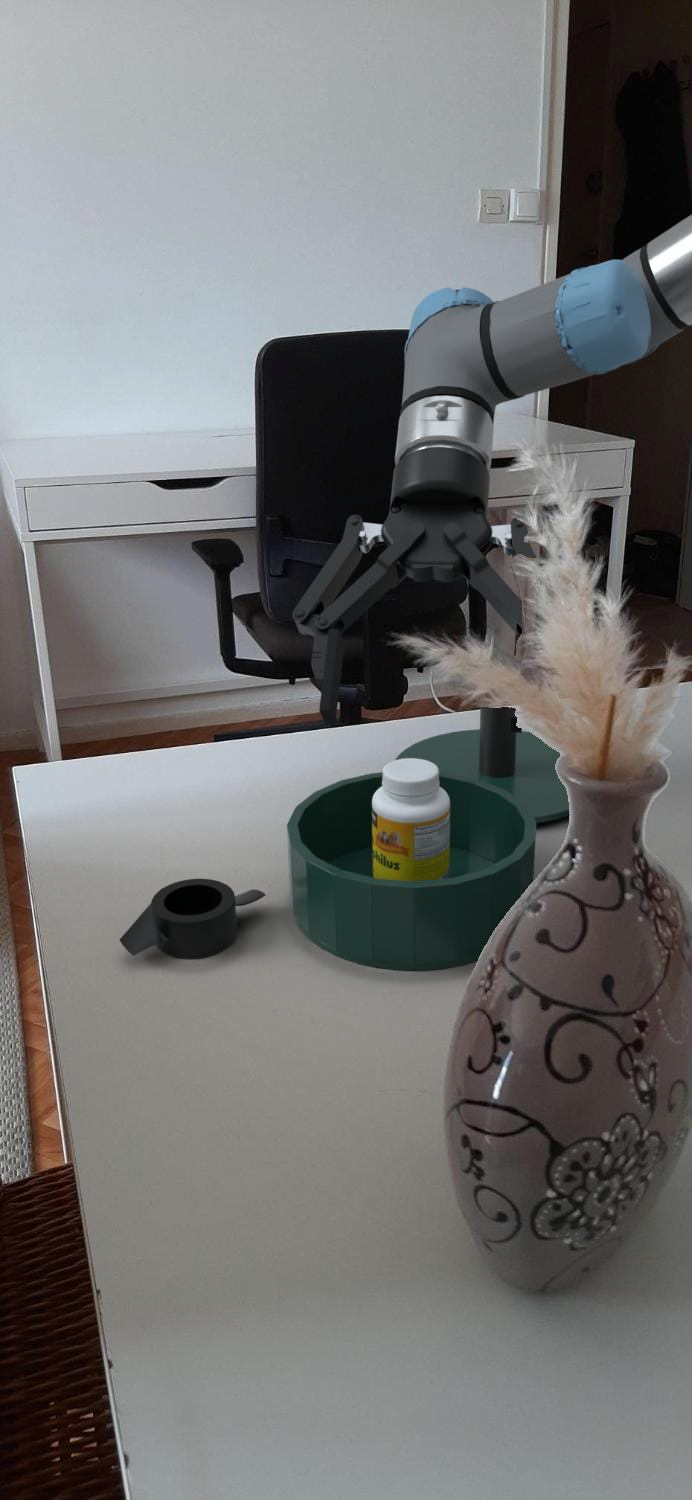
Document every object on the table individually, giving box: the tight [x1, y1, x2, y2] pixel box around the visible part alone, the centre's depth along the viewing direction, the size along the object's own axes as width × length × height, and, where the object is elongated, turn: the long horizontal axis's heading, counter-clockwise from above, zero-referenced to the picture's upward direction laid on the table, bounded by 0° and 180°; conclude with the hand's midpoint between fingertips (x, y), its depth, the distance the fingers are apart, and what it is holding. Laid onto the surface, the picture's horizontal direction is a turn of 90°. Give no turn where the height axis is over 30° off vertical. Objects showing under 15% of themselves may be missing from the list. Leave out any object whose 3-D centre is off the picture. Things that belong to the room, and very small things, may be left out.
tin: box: [286, 771, 537, 971], centre depth 83 cm, size 18×18×6 cm
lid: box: [394, 707, 570, 824], centre depth 101 cm, size 19×19×10 cm
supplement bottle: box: [372, 758, 450, 881], centre depth 82 cm, size 6×6×10 cm
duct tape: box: [119, 878, 266, 960], centre depth 80 cm, size 8×10×3 cm
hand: (420, 722), depth 82 cm, fingers open, 13 cm apart
